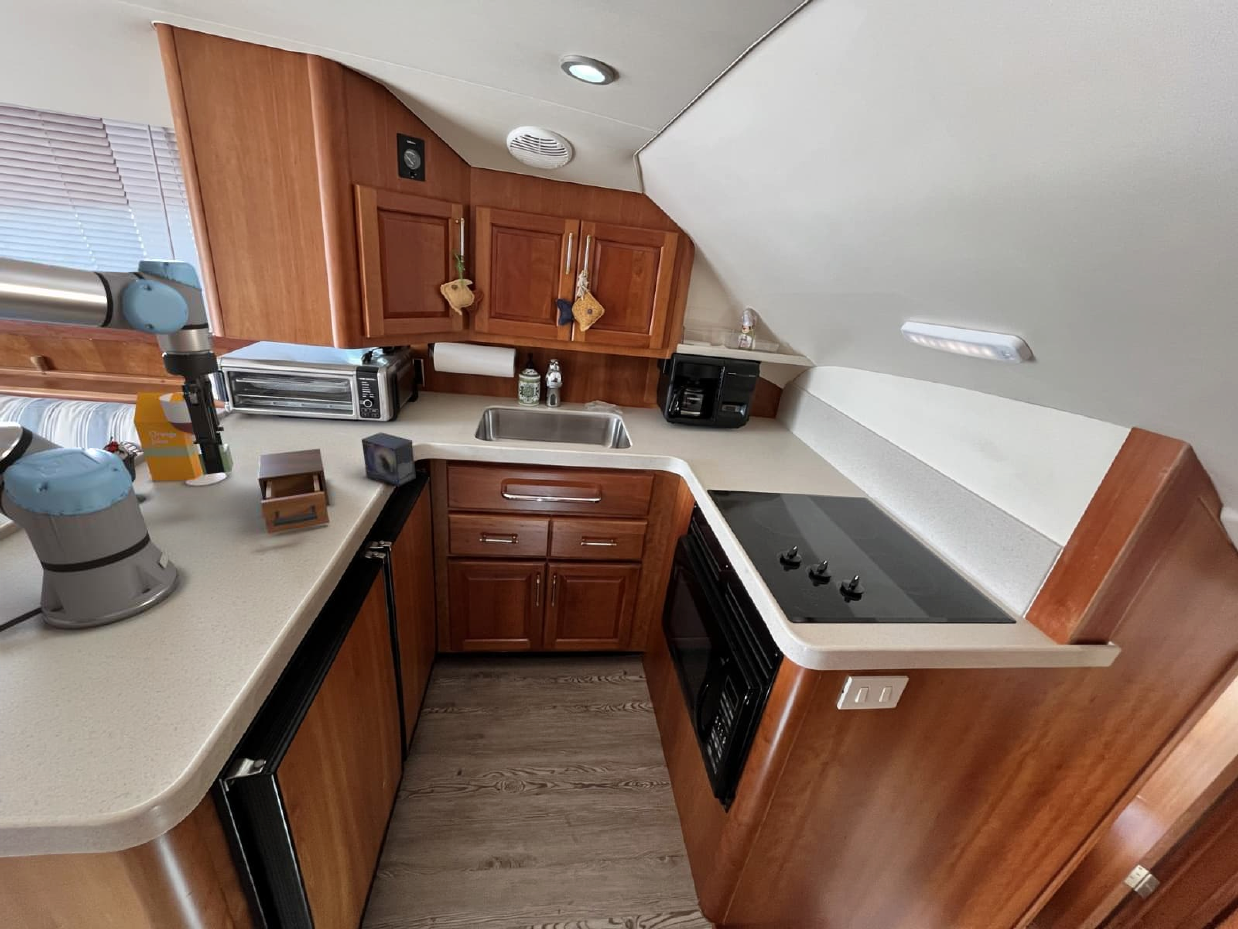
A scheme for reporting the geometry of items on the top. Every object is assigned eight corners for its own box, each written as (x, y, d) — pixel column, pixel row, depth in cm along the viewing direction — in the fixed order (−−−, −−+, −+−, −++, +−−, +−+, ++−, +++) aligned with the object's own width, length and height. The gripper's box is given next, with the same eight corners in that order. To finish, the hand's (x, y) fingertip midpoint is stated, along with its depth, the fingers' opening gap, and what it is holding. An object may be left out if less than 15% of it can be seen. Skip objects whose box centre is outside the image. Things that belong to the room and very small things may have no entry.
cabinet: (329, 505, 109) (323, 470, 106) (266, 515, 103) (257, 478, 100) (325, 481, 119) (319, 448, 116) (267, 489, 113) (260, 455, 110)
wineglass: (201, 488, 111) (178, 403, 103) (174, 481, 113) (149, 397, 106) (236, 475, 118) (216, 395, 111) (210, 469, 120) (189, 389, 113)
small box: (364, 478, 123) (359, 438, 119) (384, 469, 128) (380, 431, 124) (397, 487, 119) (393, 447, 115) (417, 478, 125) (413, 439, 121)
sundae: (134, 508, 101) (110, 440, 96) (99, 507, 101) (73, 439, 95) (159, 494, 107) (139, 429, 102) (126, 493, 107) (104, 428, 101)
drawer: (331, 534, 97) (325, 503, 94) (267, 546, 92) (260, 514, 89) (325, 497, 110) (320, 470, 108) (269, 506, 105) (262, 477, 102)
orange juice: (172, 467, 120) (148, 387, 112) (214, 467, 121) (193, 388, 114) (151, 481, 113) (124, 397, 105) (196, 480, 114) (172, 398, 107)
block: (203, 475, 96) (197, 454, 94) (206, 466, 99) (200, 446, 97) (231, 471, 98) (226, 451, 96) (233, 463, 101) (228, 444, 100)
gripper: (209, 359, 85) (237, 482, 94) (219, 342, 98) (243, 451, 107) (151, 360, 81) (186, 488, 90) (169, 343, 94) (198, 455, 103)
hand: (217, 467), depth 98 cm, fingers closed on block, 4 cm apart
